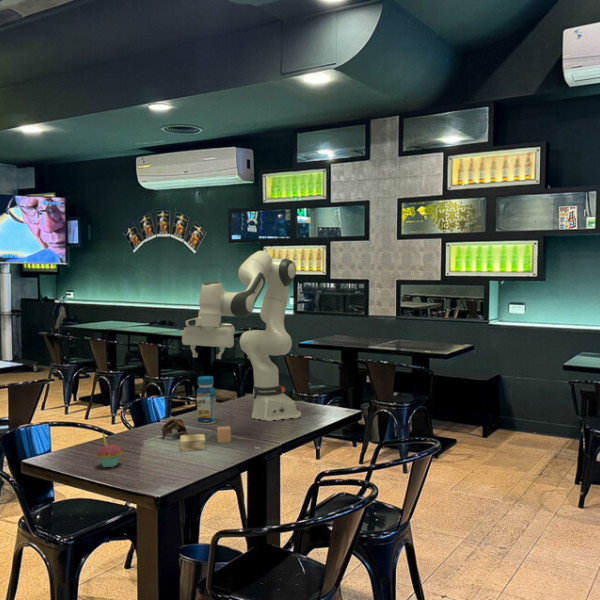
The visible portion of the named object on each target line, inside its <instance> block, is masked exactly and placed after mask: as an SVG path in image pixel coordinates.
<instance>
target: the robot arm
mask: <svg viewBox="0 0 600 600" xmlns="http://www.w3.org/2000/svg"><path fill="white" fill-rule="evenodd" d="M296 273H297V267H296V264H295V263H294V261H293V260H291V259H288V258H276V257H275V258H273V257H272V255H271V254H269V252H268V251H265V250H258V251H256V252H254V253H252V254H250V256H249V257H248V258H246V260H244V262H243V263H242V264H241V265H240V266H239V268H238V275H237V276H238V279H239V281H240V283H242V284H243V285H244V286H245V287H246V289H245V290H244V291H238V292H235V291H234V292H233V291H231V292H230V291H226V290H225V289H224V288H223V285H222V284H223V283H222V282H219V281H205V282H203V283H202V285H201V286H200V287H201V288H200V292H199V294H200V295H199V302H198V303H199V310H198V315H197V316H198V317H194V318H190V319H188V320H185V327H184V328H183V331H182V336H181V342H182V345H183V346H190V351H191V352H192V358H195V359H197V358H198V356H199V353H198V352H196V350H195V349H196V348H197V347H196V346H199V347H215V348H219V353H218V354H215V355H216V356H215V358H216V360H222V354H223V353H224V351H225V349H226V348H229V349H231V348H233V347H234V346H235V338H234V337H235V332H236V327H235V326H234V325H233V324H232V323H222V322H221V321H222V317H236V318H238V317H239V318H243V319H245V318H248V317H249V316H250V315H251V313H252V312H253V311H254V308H255V304H256V302H257V300H258V298H259V296H260V295H261V293H262V292H263V289H264V288H265V285H266V284H267V288H266V290H265V293H264V295H263V300H262V303H261V307H260V313H259V316H260V319H261V320H262V322H264V323H265V325H266V326H265V327H266V328H265V330H262V329H251V330H247V331H244V332H243V333H242V334H241V335H240V339H239V346H240V349H241V351H243V352H244V353H245V354H246V356H247V357H248V358H249V361H250V363H251V365H252V369H253V371H252V372H253V381H254V382H253V387H252V388H253V389H252V397H253V407H252V412H251V413H252V414H251V418H252V419H254V418H255V419H254V420H258V419H261V420H260V421H265V420H266V422H274V421H273V420H276V421H282V420H281V419H285V420H290V419H289V418H294V419H300V418H301V417H302V412H301V411H300V410H297V405H296V402H295V401H294V400H293V399H292V398H291V397H289V396H288V395H286V393H285V391H286V388H285V387H284V386H282V385H280V384H279V382H280V380H279V368H278V366H277V365H276V364H275V363H274V362H272V360H271V359H270V357H269V356H283V355H287V354H289V352H291V349H292V346H293V345H292V344H293V342H292V337H291V336H290V334H289V333H288V332H287V331H286V330H287V329H286V327H285V316H286V309H287V305H288V300H289V289H290V288H289V286H290V284H291V283H292V282H293V281H294V278H295V276H296ZM299 417H300V418H299Z"/></svg>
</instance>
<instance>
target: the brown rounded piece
mask: <svg viewBox="0 0 600 600" xmlns="http://www.w3.org/2000/svg"><path fill="white" fill-rule="evenodd" d="M173 430H175V431H176V432H177V433H182V432H183V434H182V435H189V434H188V431H187V427H186V425H185V424H184V421H183V420H182V419H180V418H178V419H177V418H173V419H170V420H169V421H167V422H166V423H165V424H163V426H162V427H161V431H162V433H161V435H162V436H163V437H164V438H166V436H167V435H169V434H170V435H173Z"/></svg>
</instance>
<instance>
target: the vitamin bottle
mask: <svg viewBox="0 0 600 600" xmlns="http://www.w3.org/2000/svg"><path fill="white" fill-rule="evenodd" d="M197 385H198V388H197V390H196V409H197V410H196V413H197V415H196V416H197V418H196V419H197V423H198V424H199V425H212V424H215V423H216V422H217V404H216V403H217V397H216V390H215V388H214V386H213V385H214V377H213V376H211V375H203V376H199V377H197Z"/></svg>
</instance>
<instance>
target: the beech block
mask: <svg viewBox="0 0 600 600" xmlns="http://www.w3.org/2000/svg"><path fill="white" fill-rule="evenodd" d="M205 435H206V434H205V433H197V434H188V435H184V434H182V435H180V436H179V437H180V452H181V451H182V452H190V451H189V450H196V451H204V449H206V436H205Z"/></svg>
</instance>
